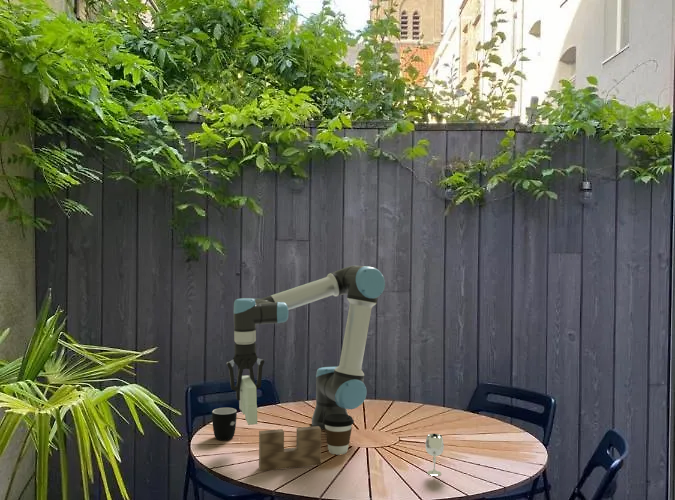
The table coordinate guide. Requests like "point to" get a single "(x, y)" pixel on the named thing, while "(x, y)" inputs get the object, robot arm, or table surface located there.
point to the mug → (224, 423)
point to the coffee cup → (338, 432)
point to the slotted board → (289, 449)
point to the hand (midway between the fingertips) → (246, 408)
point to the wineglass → (434, 449)
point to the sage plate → (249, 400)
